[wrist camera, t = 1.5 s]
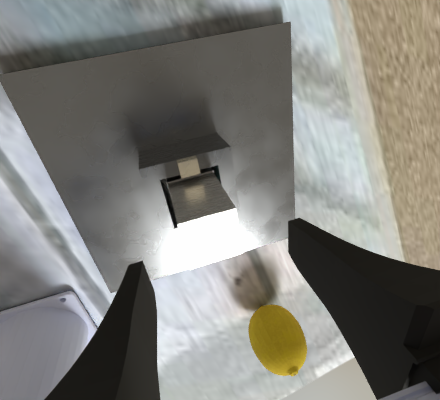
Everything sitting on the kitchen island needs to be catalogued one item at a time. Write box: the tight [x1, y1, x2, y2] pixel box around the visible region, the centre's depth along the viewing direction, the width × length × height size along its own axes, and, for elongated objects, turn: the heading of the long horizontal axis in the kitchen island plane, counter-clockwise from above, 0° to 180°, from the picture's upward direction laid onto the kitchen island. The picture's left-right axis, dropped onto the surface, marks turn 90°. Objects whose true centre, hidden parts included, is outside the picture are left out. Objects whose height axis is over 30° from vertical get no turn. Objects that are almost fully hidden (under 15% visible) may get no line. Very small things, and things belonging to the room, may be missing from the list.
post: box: [166, 167, 243, 270], centre depth 18 cm, size 3×3×8 cm
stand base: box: [0, 22, 295, 293], centre depth 20 cm, size 18×18×5 cm
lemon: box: [249, 305, 307, 376], centre depth 29 cm, size 6×6×8 cm
